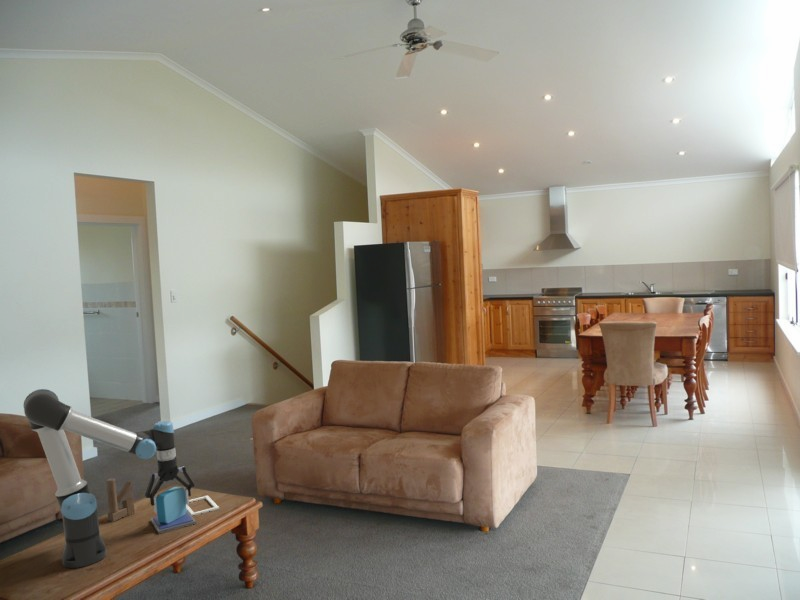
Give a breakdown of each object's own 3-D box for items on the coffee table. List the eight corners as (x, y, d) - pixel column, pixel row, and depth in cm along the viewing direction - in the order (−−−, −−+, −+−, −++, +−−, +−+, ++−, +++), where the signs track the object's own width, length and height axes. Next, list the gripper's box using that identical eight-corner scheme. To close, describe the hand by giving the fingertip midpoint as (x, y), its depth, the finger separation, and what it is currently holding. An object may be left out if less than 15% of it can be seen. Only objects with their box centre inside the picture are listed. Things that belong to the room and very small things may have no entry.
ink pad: (158, 534, 260) (158, 530, 260) (150, 521, 274) (150, 517, 274) (196, 523, 268) (195, 520, 268) (186, 511, 282) (186, 508, 282)
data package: (179, 512, 277) (176, 485, 277) (187, 513, 275) (184, 486, 275) (158, 523, 266) (155, 495, 266) (166, 525, 265) (163, 496, 264)
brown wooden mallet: (135, 513, 285) (131, 473, 284) (113, 522, 276) (108, 481, 275) (130, 511, 287) (126, 472, 286) (108, 521, 278) (103, 480, 277)
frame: (191, 516, 276) (191, 514, 276) (181, 503, 293) (181, 502, 293) (219, 508, 283) (219, 507, 283) (207, 496, 299) (207, 495, 299)
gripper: (137, 467, 260) (142, 518, 261) (198, 453, 272) (203, 503, 274) (134, 463, 266) (139, 513, 268) (194, 450, 279) (199, 498, 280)
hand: (171, 508), depth 271 cm, fingers closed on data package, 12 cm apart
